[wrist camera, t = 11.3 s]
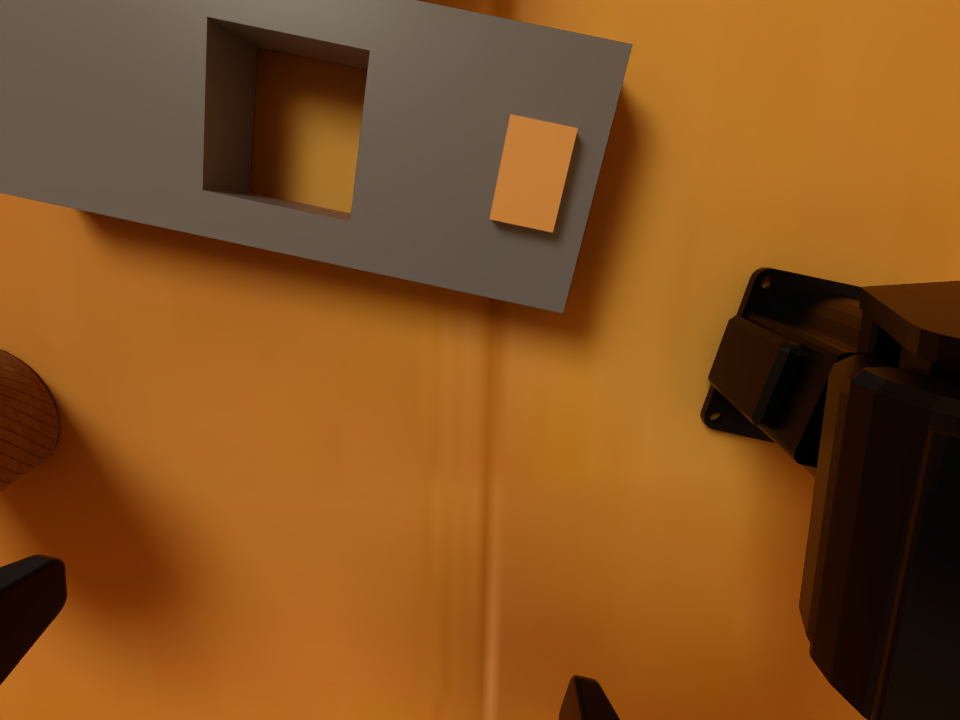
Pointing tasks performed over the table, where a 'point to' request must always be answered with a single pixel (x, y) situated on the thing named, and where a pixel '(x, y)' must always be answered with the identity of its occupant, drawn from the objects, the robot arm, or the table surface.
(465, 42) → the grey flat block
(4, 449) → the disposable coffee cup
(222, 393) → the table surface
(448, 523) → the table surface
